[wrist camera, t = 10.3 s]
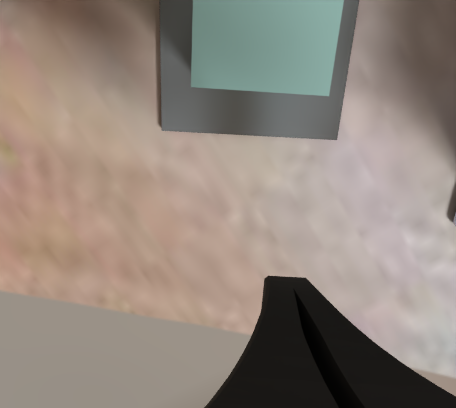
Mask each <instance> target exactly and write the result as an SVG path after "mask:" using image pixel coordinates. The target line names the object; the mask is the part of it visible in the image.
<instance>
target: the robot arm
mask: <svg viewBox="0 0 456 408" xmlns="http://www.w3.org/2000/svg"><path fill="white" fill-rule="evenodd" d="M453 223H454V225H455V226H456V213H455V217H454V221H453ZM205 408H456V396H454V395H452V394H450V393H449V392H447V391H445V390H444V389H442V388H440V387H438V386H437V385H435V384H434V383H432V382H430V381H429V380H427V379H426V378H424V377H422V376H421V375H419V374H418V373H416V372H415V371H413V370H412V369H410V368H409V367H407V366H406V365H404V364H403V363H401V362H400V361H398V360H397V359H396V358H394V357H393V356H392V355H390V354H389V353H388V352H386V351H385V350H384V349H382V348H381V347H380V346H378V345H377V344H376V343H374V342H373V341H372V340H371V339H369V338H368V337H367V336H366V335H365V334H364V333H362V332H361V331H360V330H359V329H358V328H357V327H355V326H354V325H353V324H352V323H351V322H350V321H349V320H348V319H346V318H345V317H344V316H343V315H342V314H341V313H340V312H339V311H338V310H337V309H336V308H335V307H334V306H333V305H332V304H331V303H330V302H329V301H328V300H327V299H326V298H325V297H324V296H323V295H322V294H321V293H320V292H319V291H318V290H317V289H316V288H315V287H314V286H313V285H312V284H311V283H310V282H309V281H308V280H307V279H306V278H298V277H280V276H268V277H266V278H265V280H264V290H263V300H262V309H261V313H260V316H259V319H258V321H257V324H256V327H255V329H254V332H253V334H252V336H251V339H250V341H249V342H248V344H247V346H246V348H245V350H244V352H243V354H242V356H241V357H240V359H239V361H238V363H237V364H236V366H235V368H234V369H233V371H232V372H231V374H230V375H229V377H228V378H227V379H226V381H225V382H224V383H223V385H222V386H221V387H220V389H219V390H218V391H217V393H216V394H215V395H214V397H213V398H212V399H211V401H210V402H209V403H208V404H207V405H206V406H205Z"/></svg>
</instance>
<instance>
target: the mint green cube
mask: <svg viewBox="0 0 456 408" xmlns="http://www.w3.org/2000/svg"><path fill="white" fill-rule="evenodd" d="M343 3H344V0H193V19H192V62H191V87H197V88H212V89H227V90H242V91H258V92H273V93H288V94H303V95H318V96H329V93H330V86H331V80H332V74H333V67H334V61H335V54H336V48H337V42H338V35H339V29H340V22H341V16H342V10H343Z"/></svg>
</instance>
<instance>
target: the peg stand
mask: <svg viewBox="0 0 456 408" xmlns="http://www.w3.org/2000/svg"><path fill="white" fill-rule="evenodd" d="M358 4H359V0H344V3H343V10H342V16H341V22H340V29H339V35H338V42H337V48H336V54H335V61H334V67H333V74H332V80H331V86H330V93H329V96H318V95H303V94H288V93H273V92H258V91H242V90H227V89H212V88H197V87H191V62H192V19H193V0H160V57H161V118H162V131H179V132H197V133H216V134H234V135H253V136H272V137H290V138H309V139H328V140H337V136H338V130H339V124H340V117H341V111H342V105H343V98H344V92H345V86H346V80H347V73H348V67H349V61H350V54H351V48H352V42H353V36H354V29H355V23H356V17H357V11H358Z"/></svg>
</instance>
